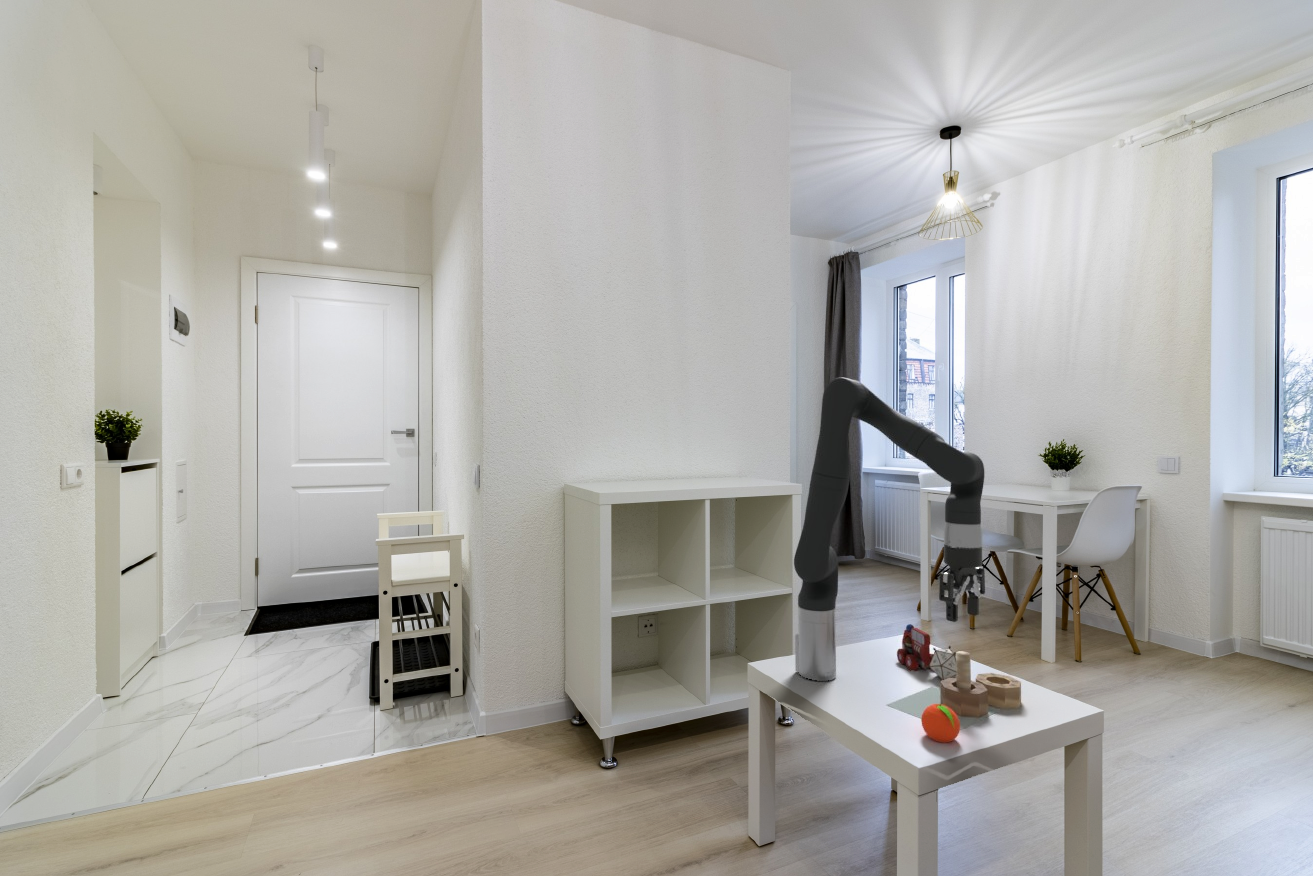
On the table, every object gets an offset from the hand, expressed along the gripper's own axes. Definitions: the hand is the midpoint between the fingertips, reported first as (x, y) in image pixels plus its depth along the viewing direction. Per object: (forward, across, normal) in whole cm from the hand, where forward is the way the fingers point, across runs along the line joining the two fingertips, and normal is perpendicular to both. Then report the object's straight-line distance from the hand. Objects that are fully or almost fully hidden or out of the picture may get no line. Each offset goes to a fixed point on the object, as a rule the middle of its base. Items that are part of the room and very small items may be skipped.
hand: (962, 617), depth 135 cm
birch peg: (+20, 0, 0) cm, 20 cm away
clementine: (+21, +17, +5) cm, 27 cm away
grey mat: (+20, +3, -3) cm, 21 cm away
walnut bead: (+20, 0, 0) cm, 20 cm away
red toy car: (+21, -17, -22) cm, 35 cm away
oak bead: (+20, -11, +2) cm, 23 cm away
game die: (+21, -14, -12) cm, 28 cm away
